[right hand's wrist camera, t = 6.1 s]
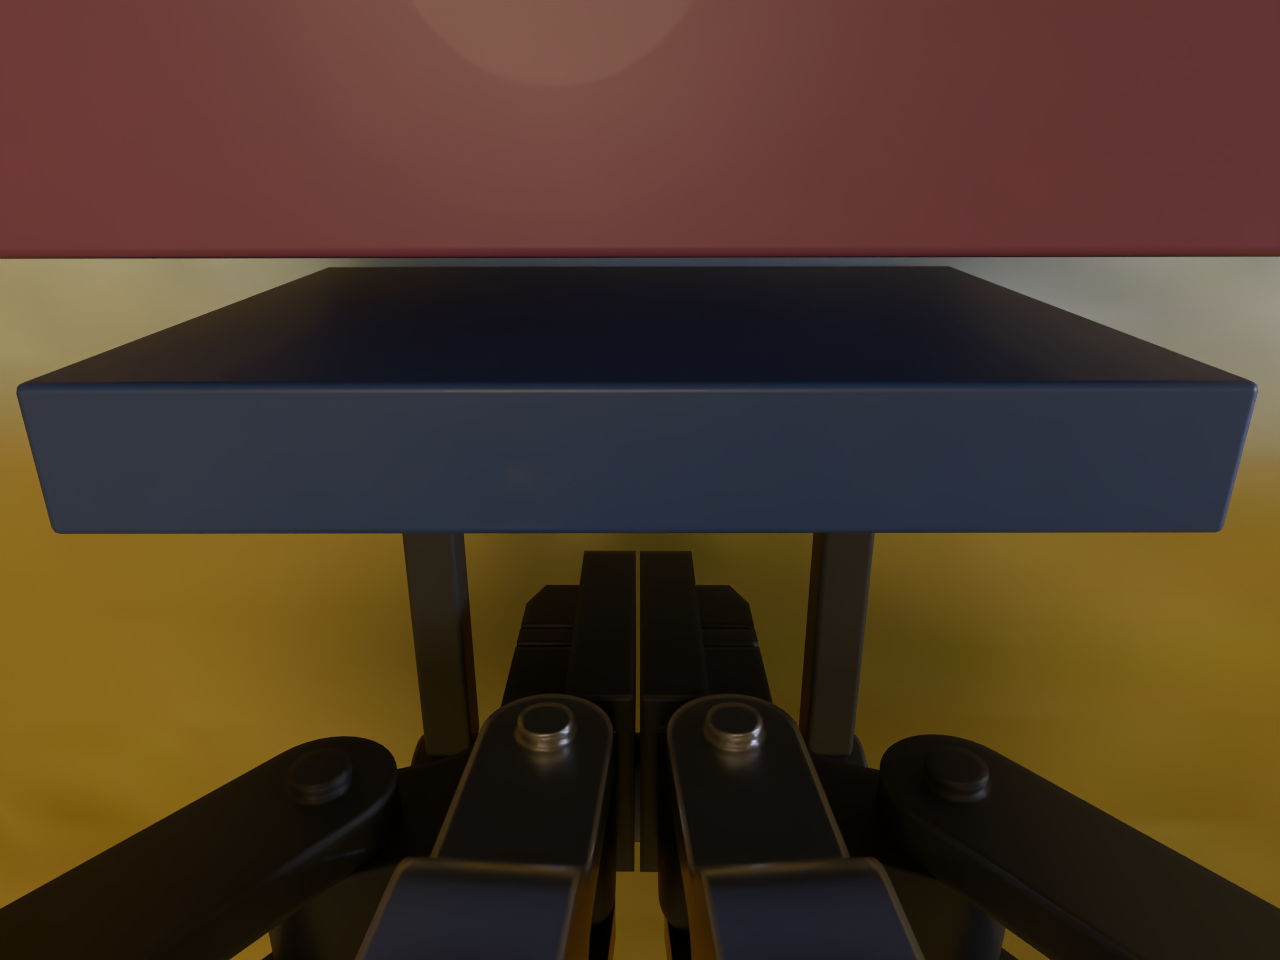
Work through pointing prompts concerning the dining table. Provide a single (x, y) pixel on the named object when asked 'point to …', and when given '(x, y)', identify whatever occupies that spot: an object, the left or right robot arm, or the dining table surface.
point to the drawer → (637, 430)
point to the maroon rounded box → (639, 128)
